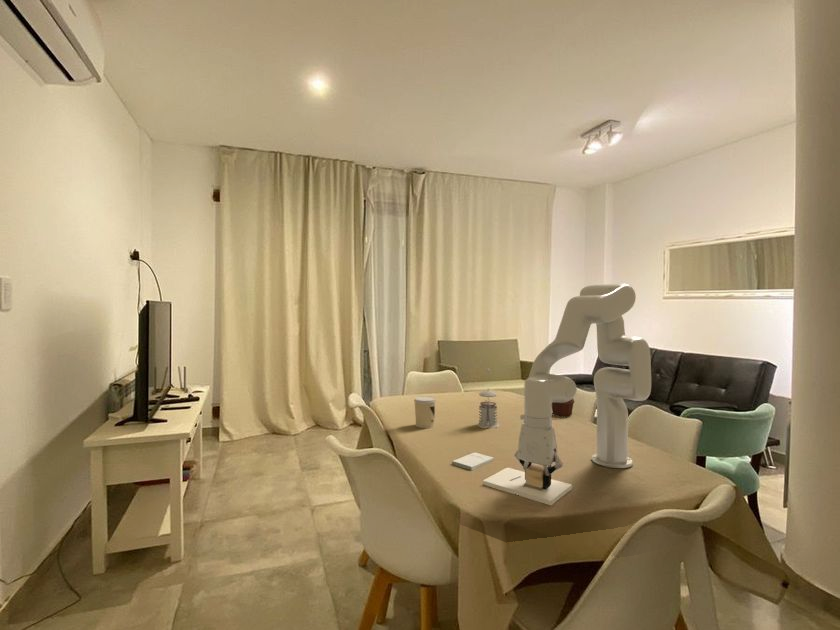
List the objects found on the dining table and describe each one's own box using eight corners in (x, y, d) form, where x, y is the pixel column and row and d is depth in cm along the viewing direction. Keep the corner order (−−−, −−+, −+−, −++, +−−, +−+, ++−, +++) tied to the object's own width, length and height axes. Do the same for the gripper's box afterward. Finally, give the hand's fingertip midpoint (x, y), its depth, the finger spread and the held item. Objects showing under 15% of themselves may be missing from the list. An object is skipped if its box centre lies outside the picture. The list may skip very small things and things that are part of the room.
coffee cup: (435, 428, 189) (435, 400, 189) (414, 428, 189) (413, 400, 189) (435, 423, 198) (435, 396, 198) (414, 423, 198) (414, 396, 198)
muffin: (573, 412, 218) (573, 392, 218) (576, 417, 207) (576, 396, 207) (548, 411, 221) (548, 391, 221) (549, 416, 210) (549, 395, 210)
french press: (499, 422, 198) (499, 367, 198) (499, 429, 187) (499, 371, 187) (477, 421, 200) (477, 366, 200) (476, 428, 189) (476, 370, 188)
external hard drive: (451, 465, 146) (473, 456, 155) (471, 471, 141) (493, 461, 150) (451, 460, 146) (473, 451, 155) (471, 466, 141) (493, 457, 150)
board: (507, 471, 140) (507, 467, 140) (572, 488, 126) (572, 484, 126) (483, 484, 129) (482, 480, 129) (551, 505, 116) (551, 500, 116)
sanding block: (535, 479, 129) (535, 462, 129) (550, 483, 126) (549, 466, 126) (525, 486, 125) (525, 469, 125) (540, 490, 122) (540, 472, 122)
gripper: (504, 419, 128) (504, 481, 128) (561, 429, 117) (561, 498, 117) (517, 414, 134) (517, 474, 134) (572, 423, 123) (572, 489, 123)
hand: (537, 484), depth 126 cm, fingers closed on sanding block, 4 cm apart
